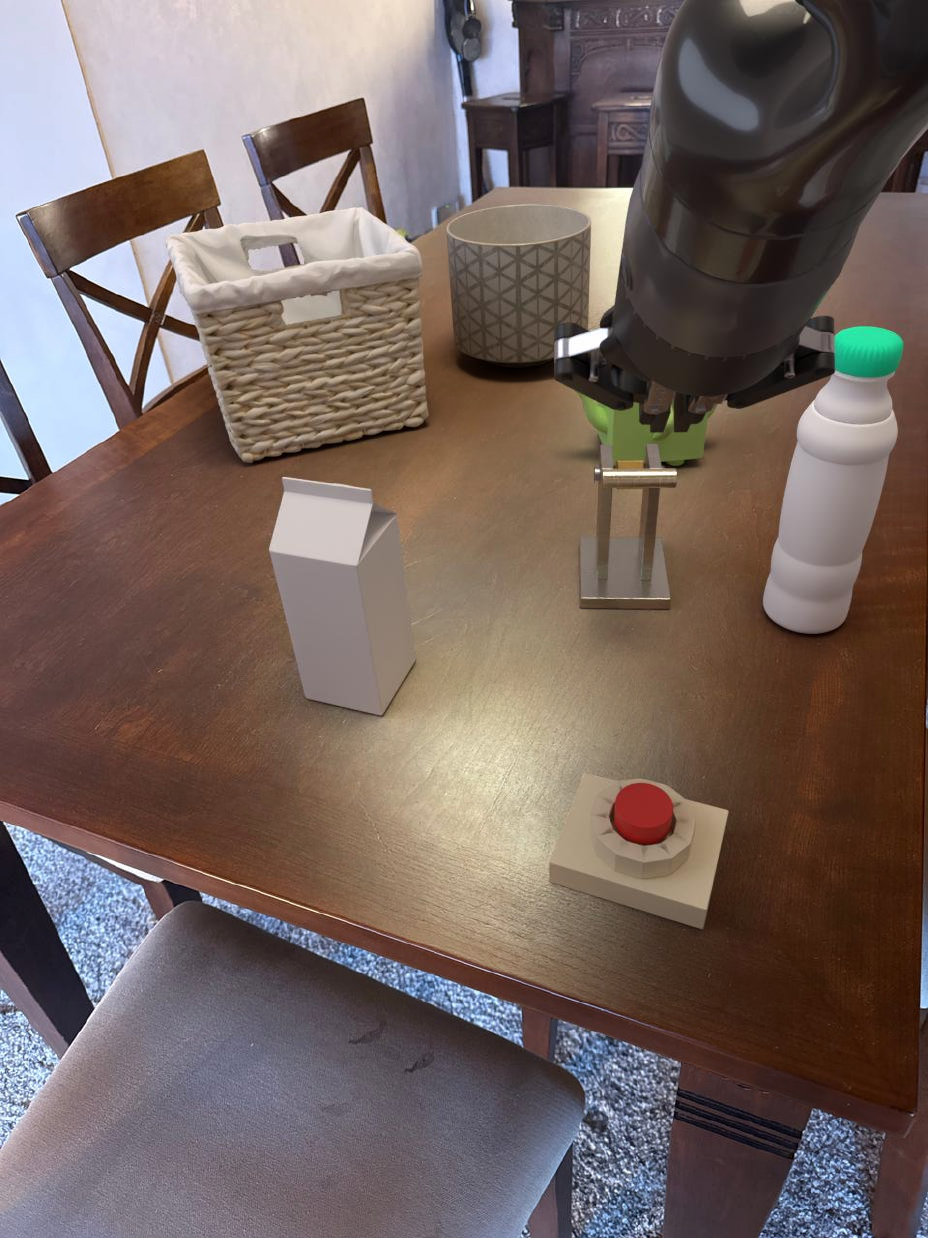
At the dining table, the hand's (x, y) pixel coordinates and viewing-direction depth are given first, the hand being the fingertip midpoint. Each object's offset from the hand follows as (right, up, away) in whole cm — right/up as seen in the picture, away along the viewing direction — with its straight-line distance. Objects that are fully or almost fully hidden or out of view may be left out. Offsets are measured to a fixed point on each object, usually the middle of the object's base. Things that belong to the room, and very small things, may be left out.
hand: (667, 415), depth 48 cm
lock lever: (+2, -1, +23) cm, 23 cm away
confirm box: (0, -27, +10) cm, 29 cm away
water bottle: (+19, -11, +28) cm, 36 cm away
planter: (-3, +26, +77) cm, 81 cm away
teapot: (+10, +8, +52) cm, 54 cm away
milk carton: (-20, -17, +25) cm, 36 cm away
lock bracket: (+4, -7, +34) cm, 35 cm away
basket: (-31, +17, +67) cm, 76 cm away
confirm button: (0, -24, +7) cm, 25 cm away
